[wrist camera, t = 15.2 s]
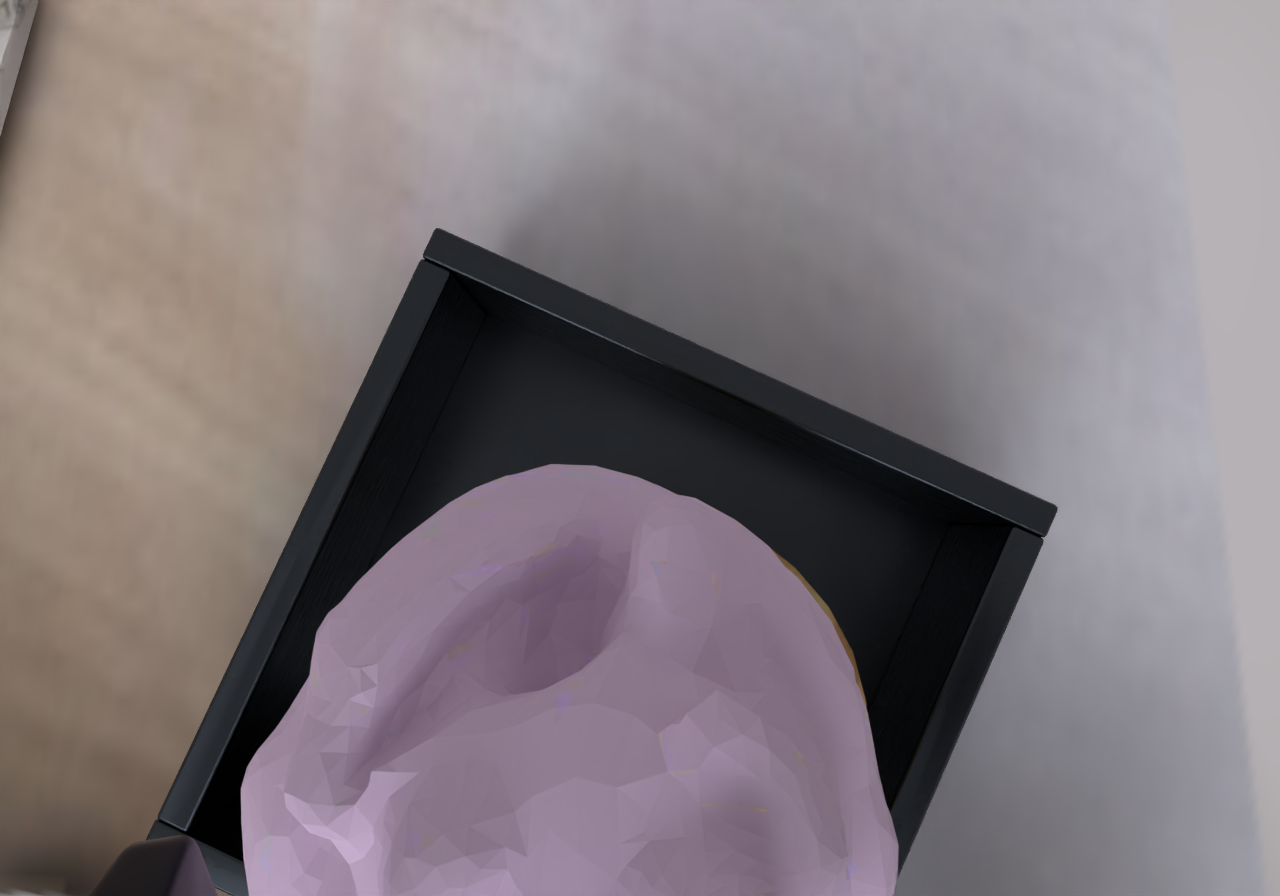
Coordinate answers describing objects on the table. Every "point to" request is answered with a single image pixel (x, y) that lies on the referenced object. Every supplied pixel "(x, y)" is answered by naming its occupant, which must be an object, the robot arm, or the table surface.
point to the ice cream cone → (574, 714)
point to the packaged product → (12, 45)
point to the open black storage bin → (654, 451)
